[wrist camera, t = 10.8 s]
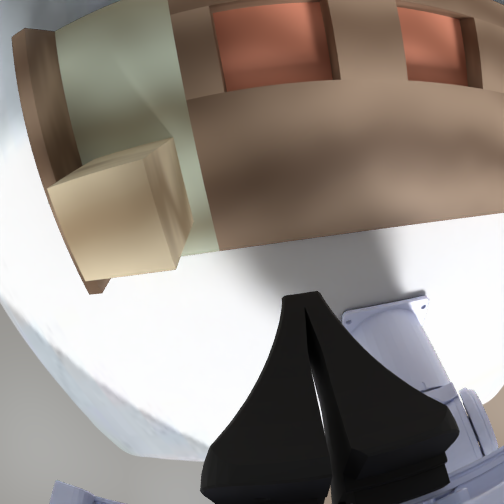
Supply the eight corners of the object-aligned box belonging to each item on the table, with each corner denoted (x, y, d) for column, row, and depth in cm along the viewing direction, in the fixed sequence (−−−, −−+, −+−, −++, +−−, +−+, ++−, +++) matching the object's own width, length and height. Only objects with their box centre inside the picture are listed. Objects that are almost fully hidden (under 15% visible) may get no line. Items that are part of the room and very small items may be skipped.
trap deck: (538, 197, 18) (572, 221, 14) (116, 252, 21) (89, 294, 16) (538, 30, 10) (578, 34, 6) (59, 40, 13) (11, 37, 8)
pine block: (193, 221, 17) (175, 269, 13) (118, 234, 18) (85, 281, 14) (173, 137, 15) (142, 159, 11) (94, 158, 15) (46, 188, 11)
